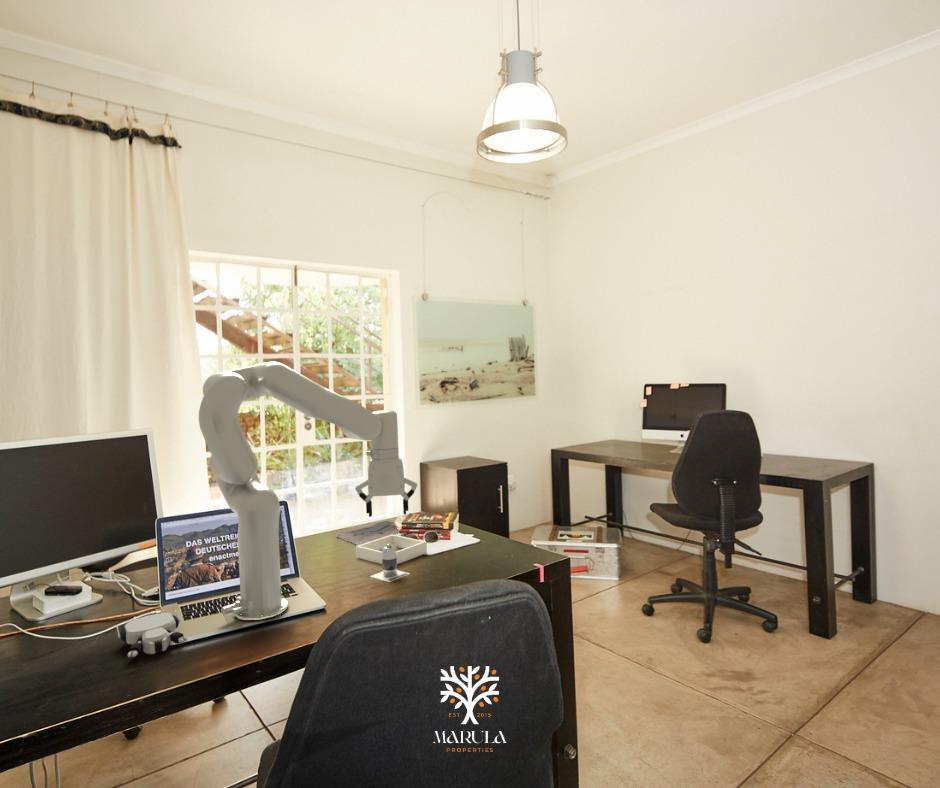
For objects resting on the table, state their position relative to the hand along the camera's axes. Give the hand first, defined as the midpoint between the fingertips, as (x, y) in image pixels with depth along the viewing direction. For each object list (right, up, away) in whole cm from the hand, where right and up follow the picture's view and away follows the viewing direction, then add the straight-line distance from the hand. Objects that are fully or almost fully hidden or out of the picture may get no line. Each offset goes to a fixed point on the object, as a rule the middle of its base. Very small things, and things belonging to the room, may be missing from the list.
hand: (387, 514), depth 163 cm
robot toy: (-47, -22, -36) cm, 63 cm away
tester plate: (+1, -18, 0) cm, 18 cm away
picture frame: (-11, -18, +46) cm, 51 cm away
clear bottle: (+1, -17, 0) cm, 17 cm away
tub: (-1, -18, +19) cm, 26 cm away
